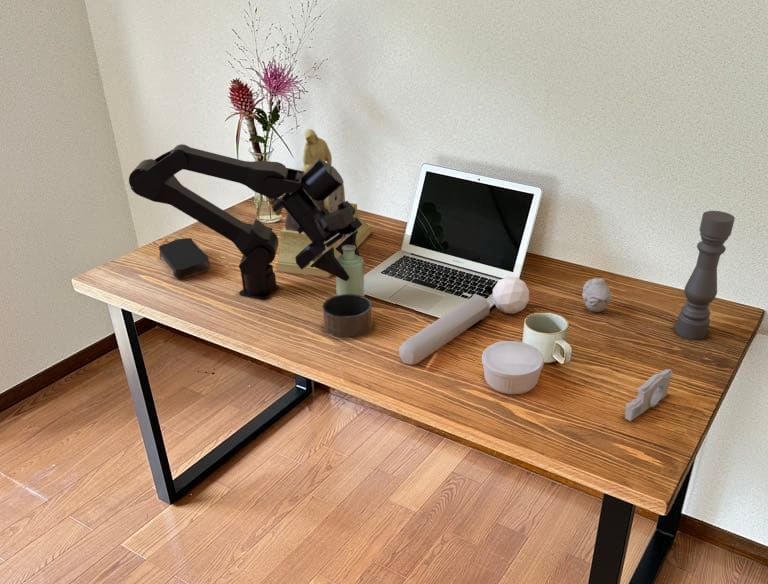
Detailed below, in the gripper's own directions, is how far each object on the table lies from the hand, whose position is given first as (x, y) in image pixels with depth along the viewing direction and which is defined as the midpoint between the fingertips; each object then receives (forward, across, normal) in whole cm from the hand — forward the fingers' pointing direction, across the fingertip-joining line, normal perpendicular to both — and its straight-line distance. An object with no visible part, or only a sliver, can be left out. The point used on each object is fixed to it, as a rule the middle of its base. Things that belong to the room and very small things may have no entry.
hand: (355, 273), depth 154 cm
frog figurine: (+38, +20, -28) cm, 52 cm away
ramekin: (+33, -14, -23) cm, 43 cm away
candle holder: (+52, +20, -43) cm, 70 cm away
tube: (+22, -6, -12) cm, 25 cm away
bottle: (+3, 0, +5) cm, 6 cm away
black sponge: (-27, -2, +37) cm, 46 cm away
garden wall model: (+50, -11, -40) cm, 65 cm away
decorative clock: (-9, +20, +19) cm, 30 cm away
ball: (+27, +12, -17) cm, 34 cm away
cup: (+8, -10, +2) cm, 12 cm away
